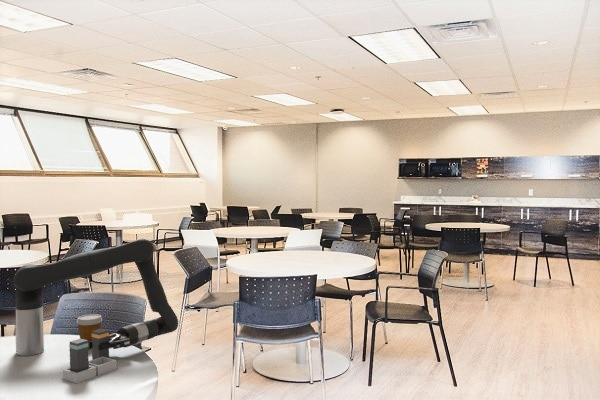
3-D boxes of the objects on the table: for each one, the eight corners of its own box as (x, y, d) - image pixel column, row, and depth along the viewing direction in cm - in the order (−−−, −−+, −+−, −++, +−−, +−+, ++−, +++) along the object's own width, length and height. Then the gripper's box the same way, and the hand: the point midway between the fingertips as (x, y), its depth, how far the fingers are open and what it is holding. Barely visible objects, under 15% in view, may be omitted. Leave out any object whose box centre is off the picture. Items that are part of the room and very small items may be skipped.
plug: (92, 364, 189) (91, 331, 188) (102, 361, 192) (101, 328, 192) (99, 366, 187) (98, 332, 186) (109, 363, 190) (108, 330, 190)
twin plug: (70, 378, 173) (69, 341, 172) (81, 374, 176) (80, 338, 176) (77, 380, 170) (77, 343, 170) (89, 376, 174) (88, 340, 173)
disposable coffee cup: (94, 351, 203) (93, 320, 203) (71, 350, 205) (71, 319, 204) (107, 344, 212) (107, 314, 212) (86, 342, 214) (85, 313, 214)
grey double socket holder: (61, 382, 172) (60, 369, 172) (103, 367, 186) (103, 355, 185) (76, 387, 168) (75, 374, 168) (118, 372, 181) (118, 360, 181)
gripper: (120, 322, 205) (80, 332, 191) (145, 327, 197) (106, 339, 183) (120, 341, 205) (81, 353, 191) (146, 347, 197) (107, 360, 183)
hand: (94, 346), depth 187 cm, fingers open, 4 cm apart
